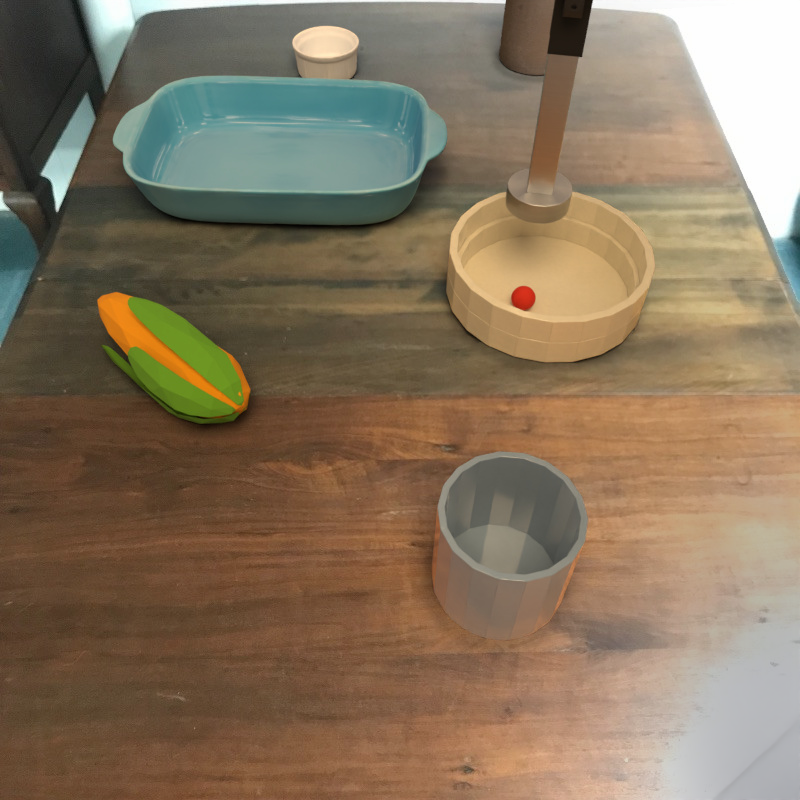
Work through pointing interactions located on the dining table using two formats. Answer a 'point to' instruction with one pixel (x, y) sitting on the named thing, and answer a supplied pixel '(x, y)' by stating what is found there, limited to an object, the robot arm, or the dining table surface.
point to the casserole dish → (280, 149)
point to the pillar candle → (526, 35)
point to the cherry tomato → (523, 297)
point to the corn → (174, 360)
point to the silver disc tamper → (546, 151)
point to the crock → (506, 543)
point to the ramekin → (326, 52)
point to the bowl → (549, 278)
